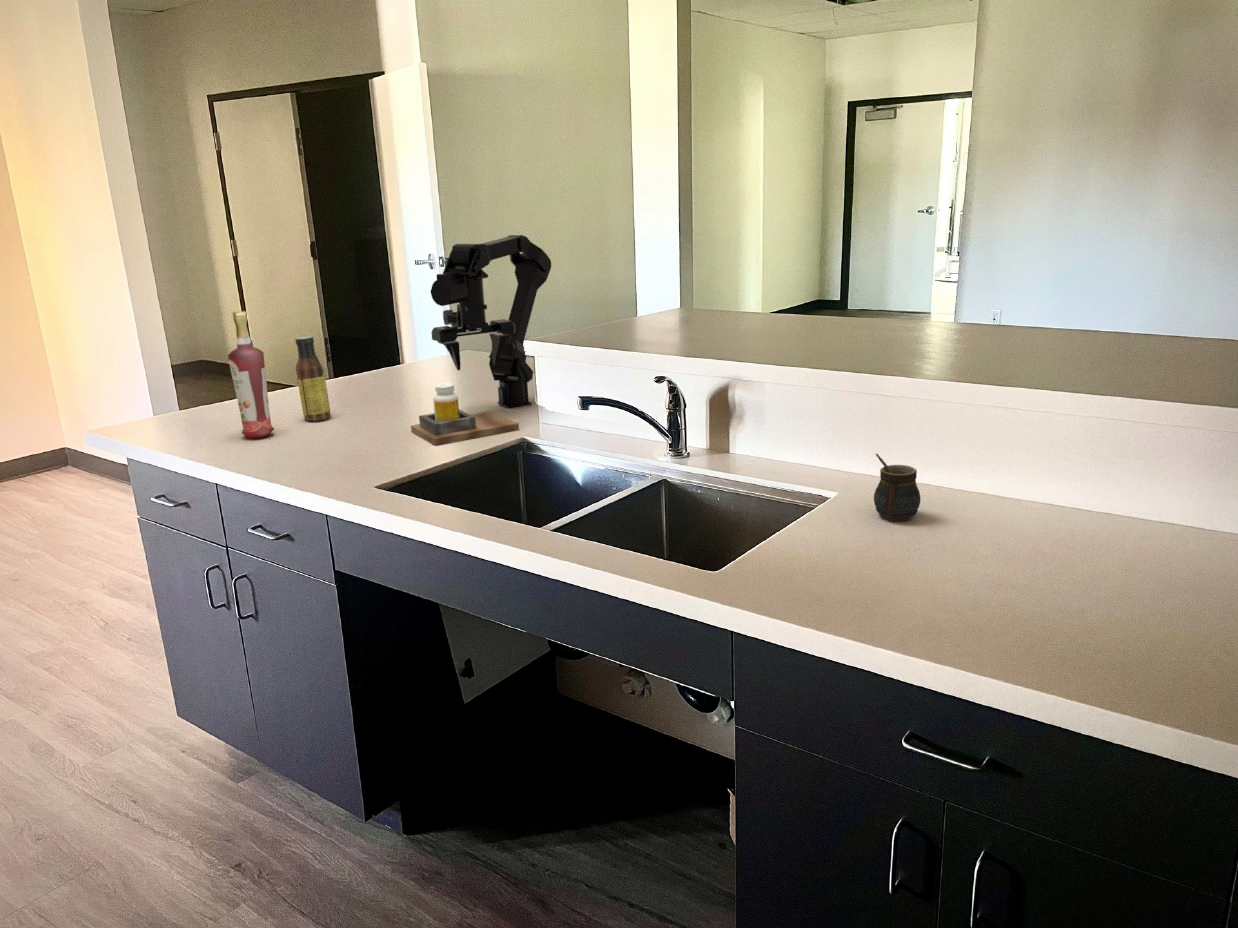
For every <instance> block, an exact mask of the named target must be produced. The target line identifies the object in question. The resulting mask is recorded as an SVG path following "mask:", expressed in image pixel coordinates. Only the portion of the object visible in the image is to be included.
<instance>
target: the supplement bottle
mask: <svg viewBox="0 0 1238 928" xmlns="http://www.w3.org/2000/svg"><path fill="white" fill-rule="evenodd" d="M434 387H435V395H434V396H433V398H432V400H433V413H435V421H436V422H443V421H449V420H455V419H460V417H459V410H460V409H459V408H460V406H459V398H458V397H459V396H458V394H456V393H455V392H454V391H455V385H454V383H449V382H448V383H447V382H446V383H439V384H435V386H434Z"/></svg>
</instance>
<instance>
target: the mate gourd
mask: <svg viewBox="0 0 1238 928" xmlns="http://www.w3.org/2000/svg"><path fill="white" fill-rule="evenodd" d="M875 455H876V458H878V460H879V462H880V463H881V464H882V465H883V467H881V468H880V470H879V471H880V473H879V476H880V480H879V483H878V484H877V487H876V488H875V490H874V495H873V503H874V506H875V511H876V512H877V513H878V514H879V515H880V516H881V517H882V518H884V519H886V520H889V521H892V522H903V521H908V520H910V519H911V518H913V517H914V516H915V515H917V513H918V511H919V508H920V504H921V495H920V490H919V488H918V485H917V478H918V477H917V476H918V475H917V471H918V470H917V468H914V467H912V466H910V465H905V464H889V465H888V464H887V462H885V461H884V459H883V458H882V457H881V456H880V455H879V454H878V453H875Z"/></svg>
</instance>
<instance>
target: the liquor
mask: <svg viewBox="0 0 1238 928" xmlns="http://www.w3.org/2000/svg"><path fill="white" fill-rule="evenodd" d="M232 318H233V323H234V325H235V331H236V332H235V334H236V348H235V349H233V350H231V351H230V352H229V354H227V359H228V363H229V368H230V369H229V370H230V373H231V378H232V382H233V387H234V390H235V395H236V401H237V405H238V409H239V414H240V415H239V416H240V419H241V426H242V430H241V434H242V436H244V437H246V438H248V440H249V439H250V440H259V439H265V438H268V437H270V435H271V434H272V432H273V431H274V430H275V427H273V425H272V421H271V420H272V419H271V413H270V405H269V395H268V384H267V373H266V365H265V363H266V362H265V357H264V356H265V354H264V351H262V350H261V349H259V348H257V347H255V346H253V345H252V340H251V337H250V334H249V329H248V326H247V325H248V322H247V321H248V319H247V312H246V311H245V310H243V311H242V310H240V311H233V312H232Z"/></svg>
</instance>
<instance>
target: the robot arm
mask: <svg viewBox="0 0 1238 928" xmlns="http://www.w3.org/2000/svg"><path fill="white" fill-rule="evenodd" d="M508 256H509V261H510V263H511V264H512V265H513V266H514V268H515V269H514V275H515V277H516V278H515V279H516V281H517V287H516V289H515V293H514V297H513V298H514V299H513V301H512V304H511V305H512V306H511V309H510V313H509V317H508V319H505V318H504V319H503V318H502V319H493V320H490V322H488V321H487V320H486V319H487V318H486V310H488V305H487V304H486V303H485V296H484V294H485V293H484V281H483V280H484V279H487V278H489V275H488V273H487V272H485V271H484V270H483V269H484V268H486V267H488V266H489V265H490V262H492V261H494V260H497V259H501V258H505V257H508ZM551 269H552V260H551V258H550V257H549V256H548V254H547V253H546V252H545V250H543V249H542V248H541V247H539V246H538V245H536V244H534V242H532V241H531V240H530V239H529V238H528V237H527V236H525V235H524V234H523V235H522V234H520V235H519V234H510V235H508V236H506V237H502V238H498V239H493V240H491V241H486V242H483V243H456V244H453V245H452V247H451V251H450V253H449V255H448V258H447V261H446V264H445V266H444V268H443V272H442V273H439V274H438V273H437V274H436V280H434V281H433V283H432V285H431V289H430V295H431V298H432V300H433V302H434V303H435V304H436V305H438V306H440V307H445V306H449V305H454V304H456V311H453V309H445V310H443V311H442V319H443V324H444V325H443V326H436V327H433V328H432V330H431V341H434V342H438V344H441V345H443V346H444V347H445V348H446V350H447V352H448V353H449V356H450V357H451V360H452V362H453V364H454V366H455V367H454V368H455V369H456V370H457V371H461V353H460V352H461V350H460V342H459V341H457V339H458V337H464V336H465V337H466V336H472V335H474V336H475V335H481V334H488V333H489V338H490V340H491V341H490V342H491V351H490V354H489V355H488V358H489V363H488V364H489V368H490V371H491V375H492V378H493V380H494V381H496V382H497V381H499V383H498V384H499V386H498V388H497V393H498V401H497V404H498V405H500V406H503V407H505V408H508V409H512V408H518V407H524V406H530V405H532V403H533V402H532V401H529V387H528V385H529V384H528V383H529V382H530V381H532V380H533V375H534V370H533V369H532V368H531V366H529V365H528V364H527V363H528V362H526V361H527V354H526V355H525V352H526V350H525V351H524V349H525V346H524V342H525V338H526V335H527V330H528V326H529V322H530V319H531V315H532V311H533V308H534V304H535V300H536V296H537V293H538V290H539V289H540V288H541V287H542V286H543V285H544V283H546V281H547V280H548V278H549V274H550V273H551ZM449 325H451V326H449Z"/></svg>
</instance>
